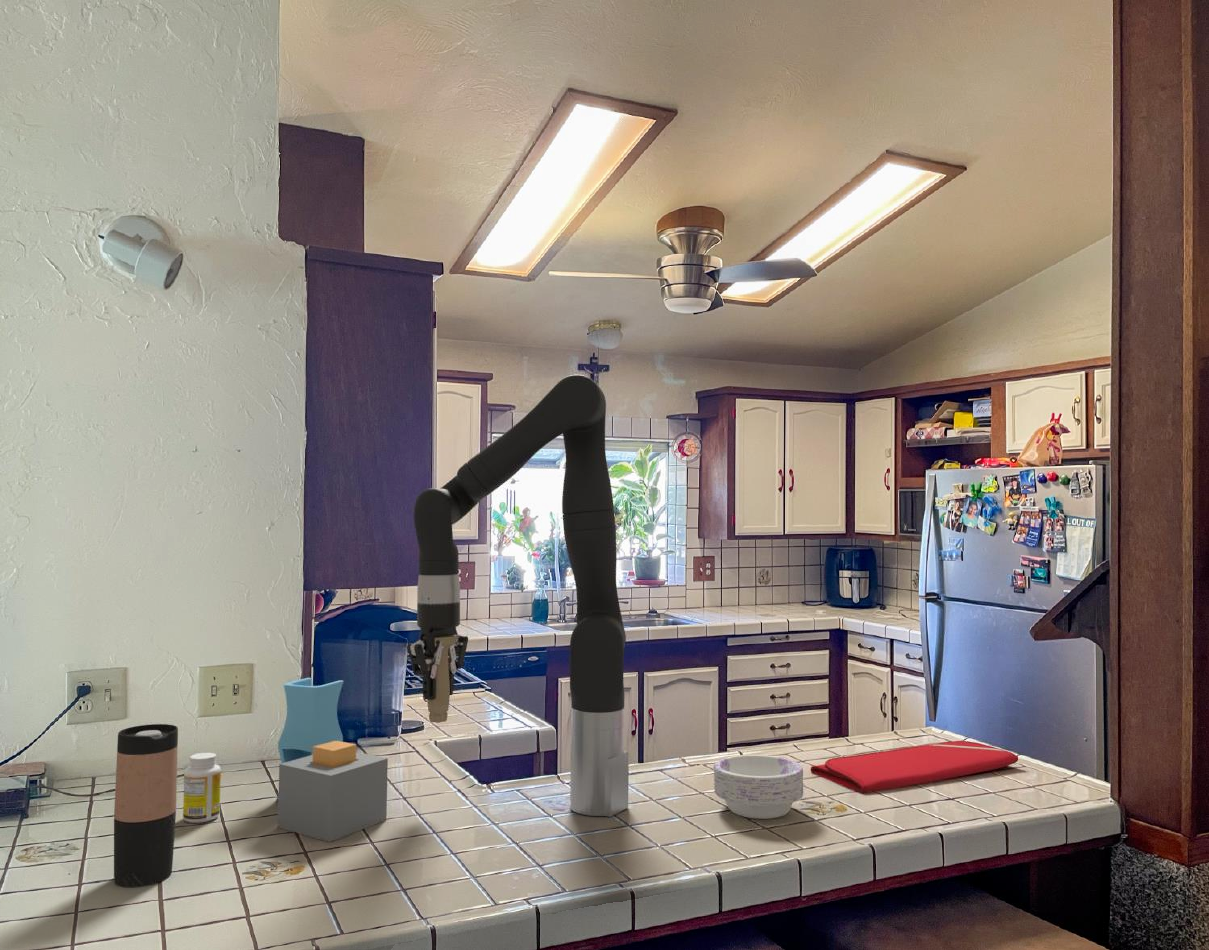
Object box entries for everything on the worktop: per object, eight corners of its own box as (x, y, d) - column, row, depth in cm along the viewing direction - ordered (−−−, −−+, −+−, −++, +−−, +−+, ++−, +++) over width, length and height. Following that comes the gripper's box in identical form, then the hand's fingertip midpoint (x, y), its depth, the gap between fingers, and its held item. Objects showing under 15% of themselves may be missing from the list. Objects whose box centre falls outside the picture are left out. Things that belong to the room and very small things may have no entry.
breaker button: (355, 769, 146) (356, 744, 146) (332, 776, 142) (333, 750, 142) (335, 764, 148) (335, 740, 149) (312, 771, 144) (312, 746, 145)
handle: (456, 723, 156) (456, 637, 156) (419, 724, 155) (419, 638, 156) (456, 717, 160) (456, 633, 161) (420, 718, 159) (420, 634, 160)
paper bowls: (702, 799, 159) (702, 754, 159) (781, 795, 162) (781, 751, 162) (731, 828, 144) (731, 779, 144) (818, 823, 147) (818, 774, 148)
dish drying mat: (808, 774, 177) (808, 755, 177) (959, 753, 194) (959, 736, 195) (863, 797, 163) (862, 776, 163) (1020, 771, 180) (1020, 753, 180)
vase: (341, 791, 162) (344, 680, 163) (314, 804, 154) (317, 687, 155) (305, 786, 164) (308, 677, 165) (276, 799, 157) (279, 684, 158)
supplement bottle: (213, 810, 150) (215, 749, 151) (224, 818, 146) (226, 756, 147) (178, 817, 147) (180, 754, 147) (188, 826, 143) (190, 761, 143)
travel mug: (126, 866, 126) (132, 723, 127) (182, 865, 127) (187, 723, 128) (101, 888, 118) (106, 737, 119) (160, 887, 119) (165, 736, 120)
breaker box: (386, 819, 147) (387, 758, 147) (329, 841, 136) (330, 775, 137) (335, 806, 153) (337, 747, 153) (277, 827, 143) (279, 763, 143)
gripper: (426, 604, 151) (426, 706, 150) (480, 597, 163) (480, 692, 162) (394, 602, 155) (394, 702, 154) (449, 596, 167) (449, 688, 166)
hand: (438, 696), depth 158 cm, fingers closed on handle, 4 cm apart
